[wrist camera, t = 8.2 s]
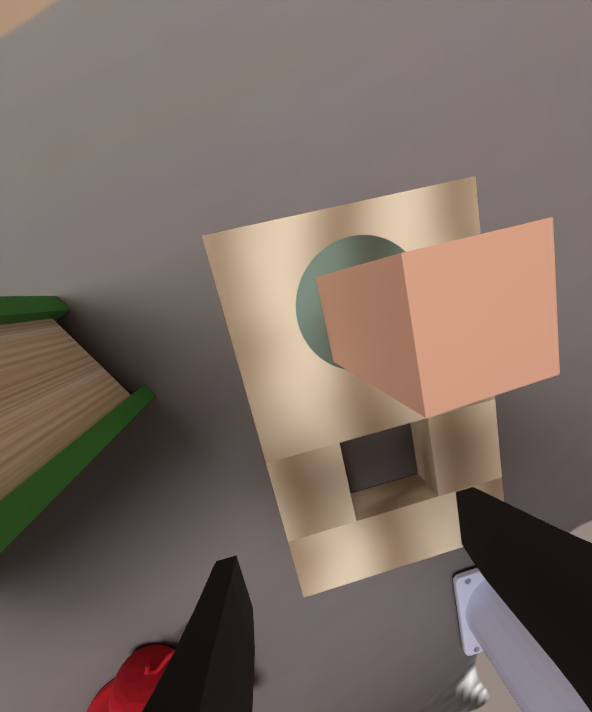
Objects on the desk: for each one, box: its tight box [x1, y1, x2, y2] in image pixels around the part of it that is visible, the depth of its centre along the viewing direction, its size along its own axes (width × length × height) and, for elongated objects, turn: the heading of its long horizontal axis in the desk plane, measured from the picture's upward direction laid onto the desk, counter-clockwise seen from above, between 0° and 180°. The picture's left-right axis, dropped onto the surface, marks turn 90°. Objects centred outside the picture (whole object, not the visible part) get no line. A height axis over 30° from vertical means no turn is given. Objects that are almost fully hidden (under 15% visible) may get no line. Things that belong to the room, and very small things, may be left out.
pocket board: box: [202, 176, 504, 597], centre depth 19 cm, size 14×22×3 cm, turn 13°
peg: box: [316, 217, 560, 418], centre depth 12 cm, size 4×4×8 cm
